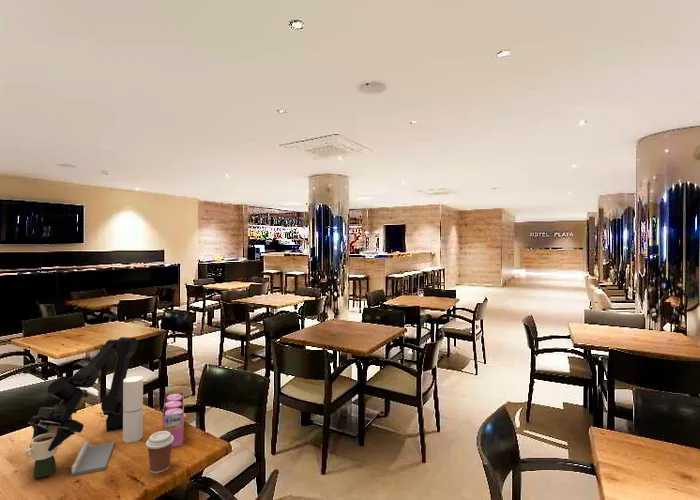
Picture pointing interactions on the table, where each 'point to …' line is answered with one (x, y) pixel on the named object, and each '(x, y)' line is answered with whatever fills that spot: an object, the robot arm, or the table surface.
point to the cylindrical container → (132, 409)
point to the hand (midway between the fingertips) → (40, 449)
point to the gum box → (174, 417)
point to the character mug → (42, 454)
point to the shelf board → (92, 458)
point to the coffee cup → (159, 451)
